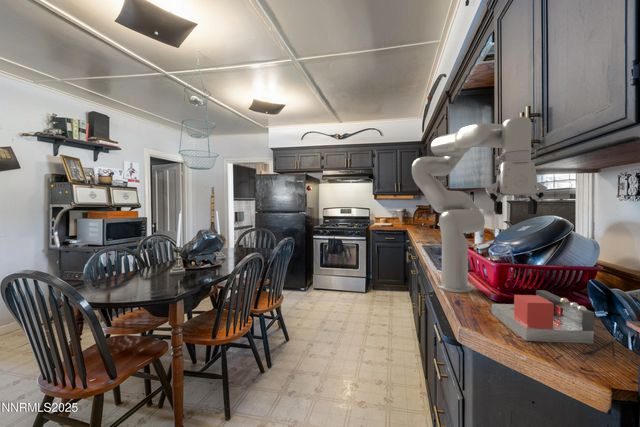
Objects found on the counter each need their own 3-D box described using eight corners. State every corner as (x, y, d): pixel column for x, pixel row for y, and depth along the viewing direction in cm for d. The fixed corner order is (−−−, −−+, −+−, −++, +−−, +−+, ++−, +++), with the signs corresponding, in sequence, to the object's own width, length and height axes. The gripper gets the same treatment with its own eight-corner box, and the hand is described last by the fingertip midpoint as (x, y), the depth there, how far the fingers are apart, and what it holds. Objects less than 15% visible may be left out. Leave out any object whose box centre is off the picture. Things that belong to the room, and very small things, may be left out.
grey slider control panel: (491, 313, 89) (491, 286, 89) (544, 315, 88) (544, 287, 87) (526, 340, 71) (526, 307, 71) (593, 343, 70) (594, 308, 69)
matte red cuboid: (513, 316, 79) (514, 294, 78) (537, 317, 78) (538, 295, 78) (527, 326, 73) (527, 302, 72) (553, 327, 72) (553, 303, 72)
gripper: (491, 157, 87) (491, 215, 88) (554, 156, 85) (553, 214, 86) (480, 161, 95) (480, 214, 95) (538, 160, 93) (537, 213, 93)
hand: (515, 214), depth 90 cm, fingers open, 9 cm apart
